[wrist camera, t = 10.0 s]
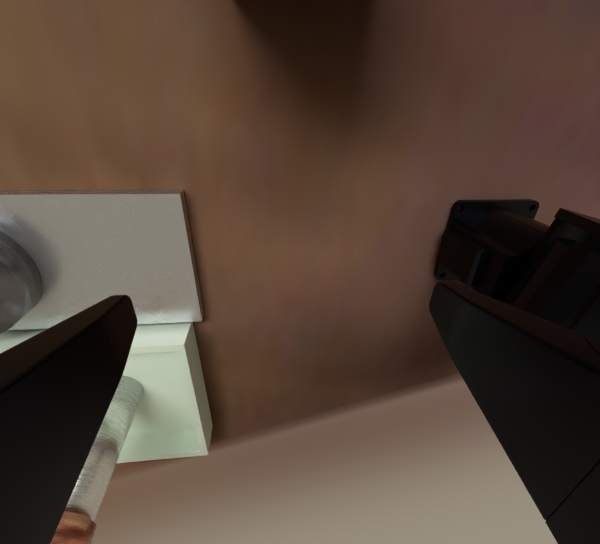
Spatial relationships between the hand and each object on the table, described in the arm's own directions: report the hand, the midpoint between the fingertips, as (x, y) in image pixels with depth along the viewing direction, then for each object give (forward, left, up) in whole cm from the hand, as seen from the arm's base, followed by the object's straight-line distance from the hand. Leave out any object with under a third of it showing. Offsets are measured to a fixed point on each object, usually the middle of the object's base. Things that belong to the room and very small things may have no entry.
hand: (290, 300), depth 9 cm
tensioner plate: (+15, +5, -13) cm, 20 cm away
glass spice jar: (+14, +17, -12) cm, 26 cm away
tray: (+14, +18, -13) cm, 26 cm away
